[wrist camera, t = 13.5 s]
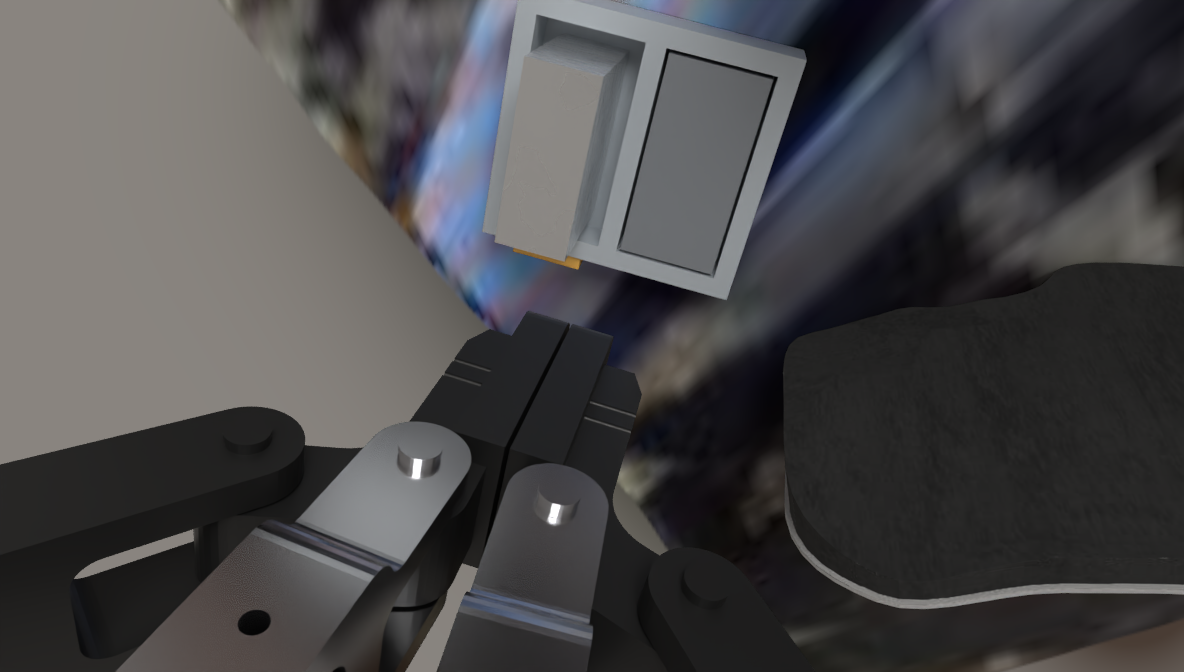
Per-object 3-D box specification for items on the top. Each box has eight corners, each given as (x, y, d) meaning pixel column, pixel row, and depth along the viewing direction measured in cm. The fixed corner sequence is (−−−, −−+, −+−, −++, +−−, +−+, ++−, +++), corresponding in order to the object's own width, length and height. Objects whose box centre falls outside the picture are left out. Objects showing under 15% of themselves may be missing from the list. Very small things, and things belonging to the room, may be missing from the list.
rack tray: (537, -19, 32) (519, -14, 30) (804, 49, 31) (806, 60, 29) (497, 224, 37) (480, 244, 35) (725, 287, 37) (722, 312, 34)
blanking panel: (563, 33, 32) (524, 56, 27) (630, 50, 32) (603, 76, 27) (534, 194, 36) (494, 242, 30) (594, 210, 35) (564, 261, 30)
